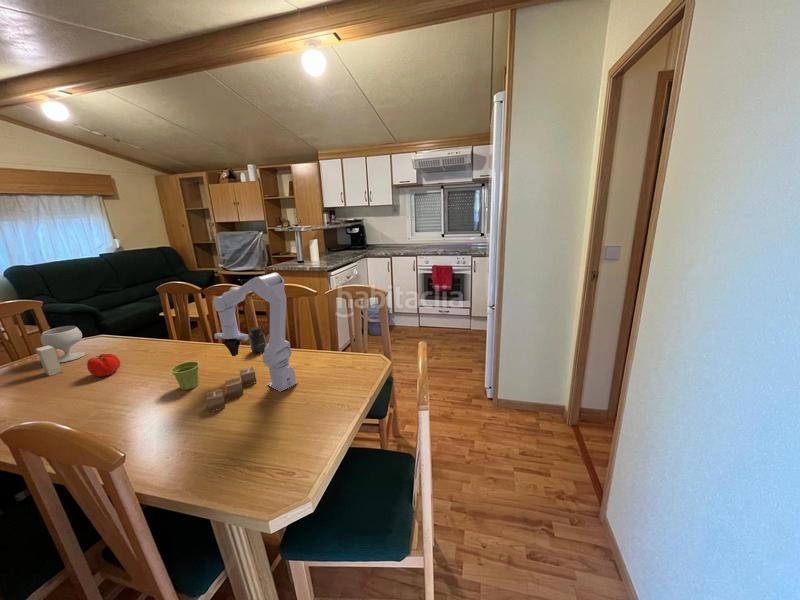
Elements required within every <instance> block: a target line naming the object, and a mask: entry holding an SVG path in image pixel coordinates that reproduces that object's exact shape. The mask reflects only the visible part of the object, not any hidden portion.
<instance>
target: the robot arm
mask: <svg viewBox="0 0 800 600" xmlns="http://www.w3.org/2000/svg"><path fill="white" fill-rule="evenodd" d="M249 293H255V294H256V295H258V296H259V297H260V298H261V299H263V300H264V301H265V302H268V303H269V337H268V338H269V341H268V343H267V344H266V347H265V349H264V352H263V354H262V357H261V359H262V362H263V364H264V365H265V366H266V367H267V368H268V370H269V376H270V382H269V383H267V386H268V385H269V384H270V385H269V386H270V388H271V387H272V388H271V389H273V388H274V390H275V389H276V390H275V391H277V390H278V391H277V392H279V391H280V392H279V393H282V392H281V391H283V390H285V389H287V388H288V389H290V388H292V387H294V386H295V385H294V384H296V382H297V381H296V374H295V370H294V368H293V367H292V366H291V365H290V364H289V363H290V362H289V361H290V358H291V356H292V349H291V343H290V342H289V341H288V340H286V322H287V321H286V319H287V296H286V293H285V279H284V278H283V277H282V276H281V275H280V274H279V273H278V272H271V273H269V274H268V273H267V274H264V275H260V276H255V277H253V278H250V279H249V280H248V281H247V282H245V283H244V284H243V285H241V286H240V287H239V286H236V287H235V286H232V287H230V288H229V290H228V291H226V292H223V293H222V295H221V296H220V295H219V296H214V298H213V300H212V305H213V308H214V309H215V310H216V311H217V312H218V317H219V321H220V326H221V327H220V328H221V332H217V333H214V339H216V340H218V339H224V340H223V341H222V344H223V345H224V346H225V347H226V348H227V349H228V351H229V353H230V354H231V356H232V357H236V356H237V355H238V354H239V348H240V345H241V344H240V343H241V341H247V340H250V339H249V334H246V333H242V332H240V330H239V327H238V322H237V318H236V317H237V316H236V310H237V309H236V306H237V304H239V303H240V302H243V301H244V300H245V299H246V296H247V295H248V294H249ZM293 385H294V386H293ZM296 385H297V384H296ZM269 386H268V387H269ZM291 386H292V387H291ZM289 387H290V388H289ZM288 389H287V390H288ZM285 391H286V390H285ZM283 392H284V391H283Z"/></svg>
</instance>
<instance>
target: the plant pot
mask: <svg viewBox="0 0 800 600" xmlns="http://www.w3.org/2000/svg"><path fill="white" fill-rule="evenodd" d="M199 366H200V362H198V361H197V360H196V361H195V360H194V361H192V360H191V361H185V362H181V363H180V364H176V365H175V366H173V367H172V368H171V369H170V373H172V375H173V376H174V377H175V379H176V381H177V384H178V386H179V389H180V390H182V391H188V390H189V389H194V388H196V387H198V386H199V384H200V383H199Z"/></svg>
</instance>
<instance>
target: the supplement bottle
mask: <svg viewBox="0 0 800 600" xmlns="http://www.w3.org/2000/svg"><path fill="white" fill-rule="evenodd" d="M262 331H263V330H262V327H260V326H255V327H251V328H250V331H249V332H250V334H249V335H248V337H249V339H248V340H249V344H250V349H251V350H250V351H251V353H252V354H254V353H255V355H257V354H256V353H259V354H262V353H261V352H263V353H264V349H265V347H266V346H267V344H266V338H265V336H266V335H265V333H264V332H262Z"/></svg>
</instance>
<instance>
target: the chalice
mask: <svg viewBox="0 0 800 600" xmlns="http://www.w3.org/2000/svg"><path fill="white" fill-rule="evenodd" d="M82 337H83V333H82V331H81V330H80V329H79V328H78V327H77V326H75V325H65V326H59V327H55V328H51V329H47V330H46V331H43V332H42V333H41V335H40V343H41V344H42V347H44V346H48V345H50V346H52V347H53V348H54V350H60V351H62V352H63V353H64V354H63V355H61V356H57V358H58V361H59V363H60V364H61V363H66V362H71V361H75V360H77V359H80V358H82V357H83V356H85V355H86V352H84V351H77V352H75V351H74V352H71V351H70V350H71V348H72V347H73V346H74V345H76V344H77V343H79V342H80V341H81V339H82Z"/></svg>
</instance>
